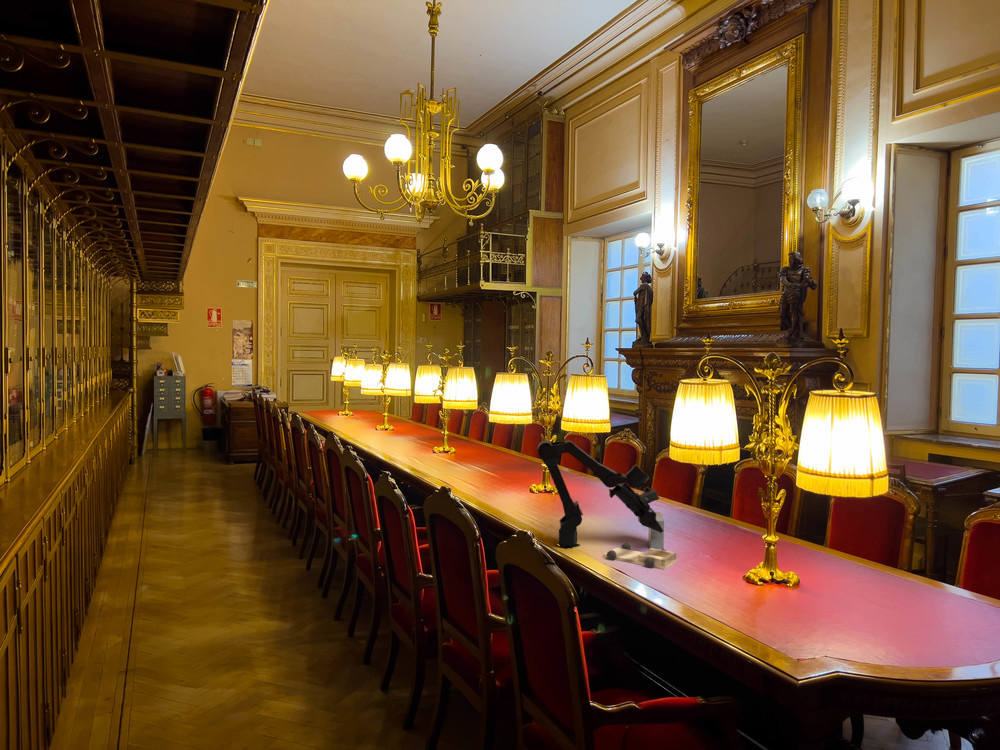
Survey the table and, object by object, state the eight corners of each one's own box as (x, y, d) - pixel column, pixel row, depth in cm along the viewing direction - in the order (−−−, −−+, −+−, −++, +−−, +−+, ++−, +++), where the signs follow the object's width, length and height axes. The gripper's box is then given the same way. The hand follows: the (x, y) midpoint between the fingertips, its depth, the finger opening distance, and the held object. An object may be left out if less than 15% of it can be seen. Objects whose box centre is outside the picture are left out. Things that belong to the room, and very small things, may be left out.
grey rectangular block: (650, 548, 241) (651, 515, 241) (648, 544, 246) (648, 512, 246) (663, 549, 241) (664, 515, 240) (660, 545, 246) (661, 512, 245)
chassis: (601, 558, 230) (601, 549, 230) (617, 549, 240) (617, 540, 240) (663, 570, 217) (663, 561, 217) (677, 560, 227) (677, 551, 227)
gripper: (649, 487, 233) (681, 519, 233) (641, 476, 252) (670, 506, 252) (626, 509, 234) (658, 541, 234) (619, 497, 253) (649, 527, 253)
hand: (659, 528), depth 243 cm, fingers open, 9 cm apart
